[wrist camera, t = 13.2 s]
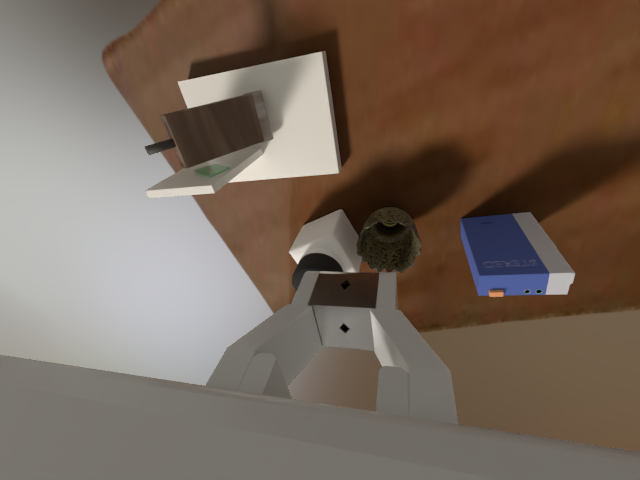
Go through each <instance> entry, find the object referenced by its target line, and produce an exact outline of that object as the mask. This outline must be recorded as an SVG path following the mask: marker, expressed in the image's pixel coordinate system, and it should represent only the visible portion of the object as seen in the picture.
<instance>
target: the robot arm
mask: <svg viewBox="0 0 640 480" xmlns="http://www.w3.org/2000/svg"><path fill="white" fill-rule="evenodd" d="M322 346H329V347H345V348H354V349H355V348H356V349H363V350H371V351H375V353H376V355H377V357H378V359H379V361H380V363H381V365H382V368H381V369H380V370H379V379H378V390H377V403H376V412H373V411H367V410H360V409H354V408H347V407H340V406H333V405H327V404H320V403H314V402H307V401H301V400H293V399H292V397H291V395H290V392H289V390H288V387H287V386H288V385H289V384H290V383H291V382H292V381H293V380H294V379H295V378H296V376H297V375H298V374H299V373H300V372H301V371H302V370H303V368H304V367H305V366H306V365H307V364H308V363H309V362H310V361H311V360H312V359H313V357H314V356H315V355H316V354H317V353H318V352H319V351H320V350H321V349H322ZM0 480H640V452H637V451H631V450H624V449H618V448H611V447H605V446H598V445H591V444H585V443H577V442H571V441H565V440H558V439H551V438H545V437H538V436H532V435H525V434H519V433H512V432H505V431H499V430H492V429H485V428H479V427H472V426H466V425H459V424H458V419H457V413H456V406H455V399H454V393H453V385H452V379H451V372H450V371H449V369H448V368H447V367H446V366H445V364H444V363H443V362H442V361H441V360H440V358H439V357H438V356H437V355H436V353H435V352H434V351H433V350H432V349H431V347H430V346H429V345H428V344H427V342H426V341H425V340H424V339H423V338H422V336H421V335H420V334H419V333H418V331H417V330H416V329H415V328H414V327H413V325H412V324H411V323H410V322H409V320H408V319H407V318H406V317H405V316H404V314H403V313H402V312H401V311H400V310H398V305H397V276H396V272H380V273H358V272H328V271H321V272H320V271H307V272H305V273H304V275H303V278H302V280H301V282H300V285H299V287H298V289H297V292H296V294H295V296H294V299H293V301H292V303H291V305H285V306H284V307H283V308H281V309H280V310H279V311H277V312H276V313H274V314H273V315H272V316H270V317H269V318H268V319H266V320H265V321H263V322H262V323H261V324H259V325H258V326H257V327H255V328H254V329H253V330H251V331H250V332H248V333H247V334H246V335H244V336H243V337H242V338H240V339H239V340H237V341H236V342H235V343H234V344H232V345H231V346H229V347H228V348H227V350H226V351H225V353H224V355H223V356H222V358H221V360H220V361H219V363H218V365H217V367H216V369H215V370H214V372H213V374H212V375H211V377H210V379H209V381H208V382H207V384H206V386H202V385H196V384H189V383H183V382H176V381H169V380H162V379H156V378H150V377H142V376H136V375H130V374H123V373H116V372H110V371H103V370H96V369H89V368H83V367H76V366H70V365H64V364H57V363H50V362H44V361H37V360H31V359H24V358H18V357H11V356H4V355H0Z"/></svg>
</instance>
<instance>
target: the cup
mask: <svg viewBox="0 0 640 480" xmlns="http://www.w3.org/2000/svg"><path fill="white" fill-rule="evenodd" d="M388 220H389V221H392V222H388ZM356 247H357V255H358V256H362V262H363V263H365V262H366V261H368V264H369V266H370V268H371V269H373V268H375V269H376V270H377V272H381V271H382V270H383V269H384V268H385V269H386V271H387V272H391V271H392V270H396V271H397V272H400V273H402V272H403V271H405V270H406V269H407V267H408V266H409V267H413V266H414V264H415V263H414V259H415V257H417V255H418V254H419V255H420V254H421V241H420V239H419V236H418V233H417V229H416V226H415V224H414V222H413V220H412V218H411V217H410V216H409V215H408V214H407V213H406V212H405V211H403V210H401V209H399V208H395V207H384V208H381V209H378V210H376V211H375V212H373V213H372V214H371V215H370V216H369V217H368V219H367V220H366V222H365V224H364V226H363V228H362V230H361V233H360V235H359V238H358V241H357V245H356Z"/></svg>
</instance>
